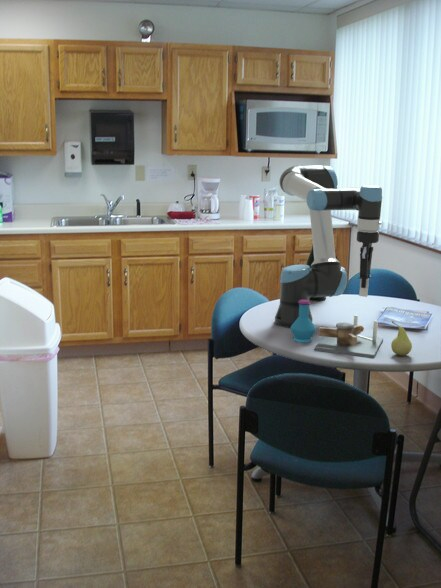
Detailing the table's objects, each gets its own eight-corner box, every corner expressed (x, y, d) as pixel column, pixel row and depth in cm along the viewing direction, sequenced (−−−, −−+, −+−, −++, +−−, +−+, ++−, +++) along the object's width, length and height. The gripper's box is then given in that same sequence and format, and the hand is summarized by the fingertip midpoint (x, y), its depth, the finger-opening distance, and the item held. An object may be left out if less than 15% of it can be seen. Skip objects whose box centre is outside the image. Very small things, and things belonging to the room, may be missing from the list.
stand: (314, 349, 242) (315, 325, 240) (327, 334, 261) (328, 311, 259) (373, 357, 234) (375, 332, 232) (382, 340, 253) (384, 317, 251)
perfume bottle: (285, 339, 254) (286, 300, 250) (300, 334, 260) (302, 296, 256) (304, 344, 247) (306, 305, 244) (320, 339, 254) (322, 300, 250)
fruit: (409, 359, 233) (412, 325, 230) (387, 356, 236) (390, 323, 233) (412, 353, 239) (414, 321, 236) (390, 351, 242) (392, 318, 239)
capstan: (354, 351, 236) (355, 332, 234) (317, 340, 247) (318, 322, 246) (380, 342, 247) (381, 324, 245) (344, 332, 258) (345, 315, 256)
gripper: (376, 234, 229) (370, 301, 235) (381, 228, 241) (376, 292, 247) (354, 232, 232) (349, 299, 238) (360, 227, 244) (356, 290, 250)
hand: (363, 295), depth 243 cm, fingers closed
